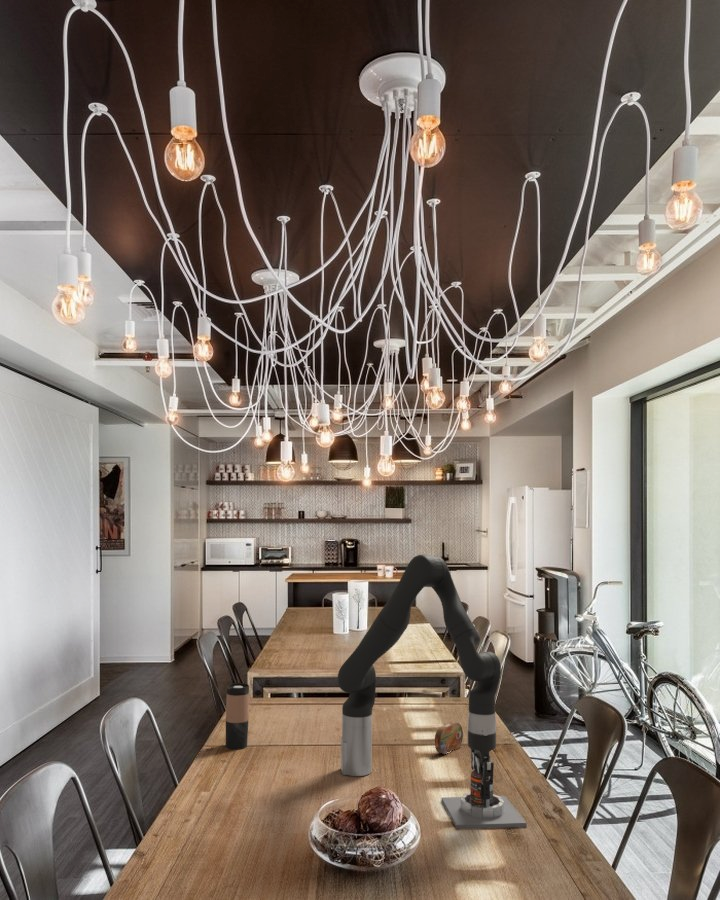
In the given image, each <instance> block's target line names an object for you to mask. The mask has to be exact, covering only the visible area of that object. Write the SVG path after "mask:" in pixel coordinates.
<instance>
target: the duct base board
mask: <svg viewBox="0 0 720 900" xmlns="http://www.w3.org/2000/svg"><path fill="white" fill-rule="evenodd" d="M498 796H499V797H501V798H502V799H503V801H504V812H503V814H502V815H501V816H498V817H495V818H478V817H472V816H470V815H467V814H465V813H463V811H462V810H461V797H462V796H450V797H441V800H440V801H441V803H442V804H443V807H444V808H445V810H446V812H447V814H448V815H449V817H450V819H451V821H452V823H453V824H454V826H455V828H456V830H470V829H471V830H473V829H475V830H477V829H504V828H527V826H528V825H527V824H528V823H527V822H526V820H525V819H524V818H523V817H522V815H521V814H520V812H519V811H518V810H517V809H516V807H514V805H513V804H512V802H510V800H509V798H507V796H506V795H498Z"/></svg>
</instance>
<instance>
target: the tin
mask: <svg viewBox="0 0 720 900" xmlns="http://www.w3.org/2000/svg"><path fill="white" fill-rule="evenodd" d="M463 737H464V733H463V726H462V725H461V724H460V723H459V722H449V723H447V724H445V725H443V726H440V727H438V729H437V730H436V731H435V734H434V746H435V747H434V748H435V750H436V752H437V753H438V754H441V753H442V754H443V755H445V754H446V753H447V752H450V751H452V750H454V749H456V750H459V748H460V747H461V745H462V743H463ZM454 751H455V750H454ZM452 752H453V751H452ZM450 753H451V752H450ZM446 755H447V754H446Z"/></svg>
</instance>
